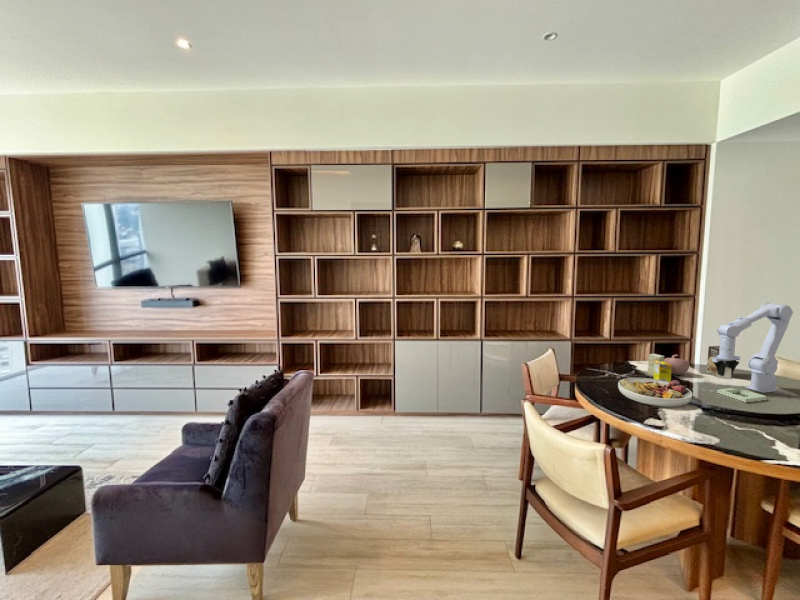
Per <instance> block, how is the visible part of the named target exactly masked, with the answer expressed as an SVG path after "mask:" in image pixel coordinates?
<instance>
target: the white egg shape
mask: <svg viewBox="0 0 800 600" xmlns="http://www.w3.org/2000/svg"><path fill="white" fill-rule="evenodd" d="M731 371H732V369H731V368H728V367H726V368H725V373H724V376H721V375H719V377H720V378H719V379H722V380H723V379H724V380H730V379H732V375H731Z"/></svg>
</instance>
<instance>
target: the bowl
mask: <svg viewBox="0 0 800 600" xmlns="http://www.w3.org/2000/svg"><path fill="white" fill-rule="evenodd" d="M617 388H618V390H619V392H620V393H621V394H622V395H623V396H624V397H626V398H628V399H630V400H631V401H635V402H638V403H640V404H644V405H649V406H654V407H662V408H676V407H677V408H678V407H682V406H685V405H687V404H689V403H690V402H691V401H692V399H693V392H692V391H691V389H689V388H686V387H685V386H684V385H681V382H680V381H679V380H676V379H674V380H671V382H667V381H662V380H656V379H654V378H647V377H628V378H622V379H620V380H619V381H618V383H617Z"/></svg>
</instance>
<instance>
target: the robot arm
mask: <svg viewBox="0 0 800 600" xmlns="http://www.w3.org/2000/svg"><path fill="white" fill-rule="evenodd" d="M793 313H794V311H793V309H792V307H791V306H790V305H788V304H778V303H770V302H767V303H766V302H765V303H763V304H762V305H760V306H759V308H758V309H756V310H755V311H753V312H752V313H749V314H748V315H747V316H738V317H737V318H736V319H735V320H733V321H730V322H728V323H724V324H721V325H720V326H719V327H718V329H717V333H718V335H719V336H718V337H719V346H720V349H719V355H717V357H715V358H712V362H713V363H714V364H715V366H716V368H717V371H718V375H721V376H724V373H725V368H726V367H728V368H731V369H732V371H731V376H733V374H734V372H735V370H736V368H737V366H738V365H739V364H740V361H741V356H739V355H735V350H736V338H738V337H739V336H740V333H742V331H745V330H746V329H749V328H751V326H752V323H754V322H757V321H759V320H761V319H763V318H767V319H768V320H769V321H770V322H771V326H770V328H769V329H768V332H767V334H766V337H765V339H764V341H763V344H762V345H761V348H760V350H759V352H756V353H754V354H752V356H751V358H750V359H748V362H747V366H748V368H749V369H750V371H751V376H750V385H748V386H745V389H750V390H751V391H752V390H753V391H756V392H760V393H763V394H764V393H765V394H766V393H772V392H773V393H774V392H778V389H777V379H778V378H777V376H776V375H775V373H776V372H777V370H778V364H779V360H778V359H777V358H776V357H775V356H776V353H777V351H778V348H779V347H780V344H781V342H782V339H783V337H784V336H785V333H786V331H787V329H788V326H789V324H790V320H791V318H792V316H793ZM724 361H725V363H724Z"/></svg>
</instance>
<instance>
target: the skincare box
mask: <svg viewBox="0 0 800 600" xmlns="http://www.w3.org/2000/svg"><path fill="white" fill-rule="evenodd" d="M664 359H665V355H661V354H657V353H649V354H648V363H647V366H648V367H647V375H649V376H652V377H654V362H655V361H660V362H664Z"/></svg>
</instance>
